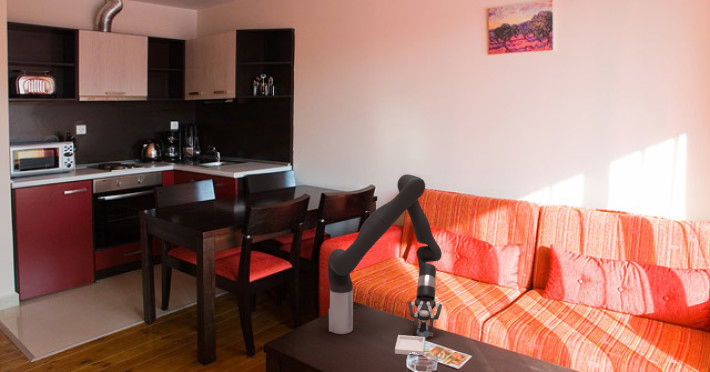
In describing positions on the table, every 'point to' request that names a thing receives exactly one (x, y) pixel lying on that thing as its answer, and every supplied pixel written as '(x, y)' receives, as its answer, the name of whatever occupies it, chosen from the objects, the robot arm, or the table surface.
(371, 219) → the robot arm
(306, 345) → the table surface
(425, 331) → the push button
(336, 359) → the table surface
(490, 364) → the table surface
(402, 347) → the white button tray
